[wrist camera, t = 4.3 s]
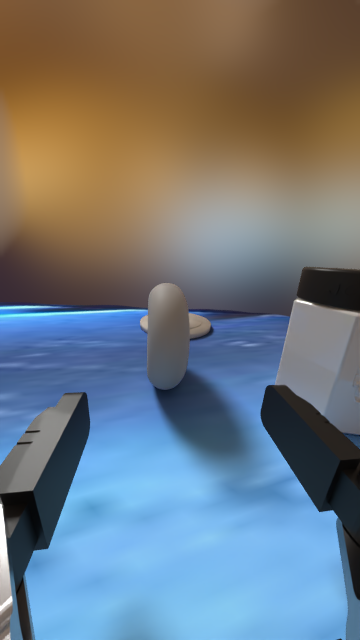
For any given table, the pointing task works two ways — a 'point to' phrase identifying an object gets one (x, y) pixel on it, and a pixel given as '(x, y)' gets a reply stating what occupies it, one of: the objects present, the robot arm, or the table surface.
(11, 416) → the table surface
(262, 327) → the table surface
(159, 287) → the donut
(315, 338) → the jar
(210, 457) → the table surface
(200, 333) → the plate
